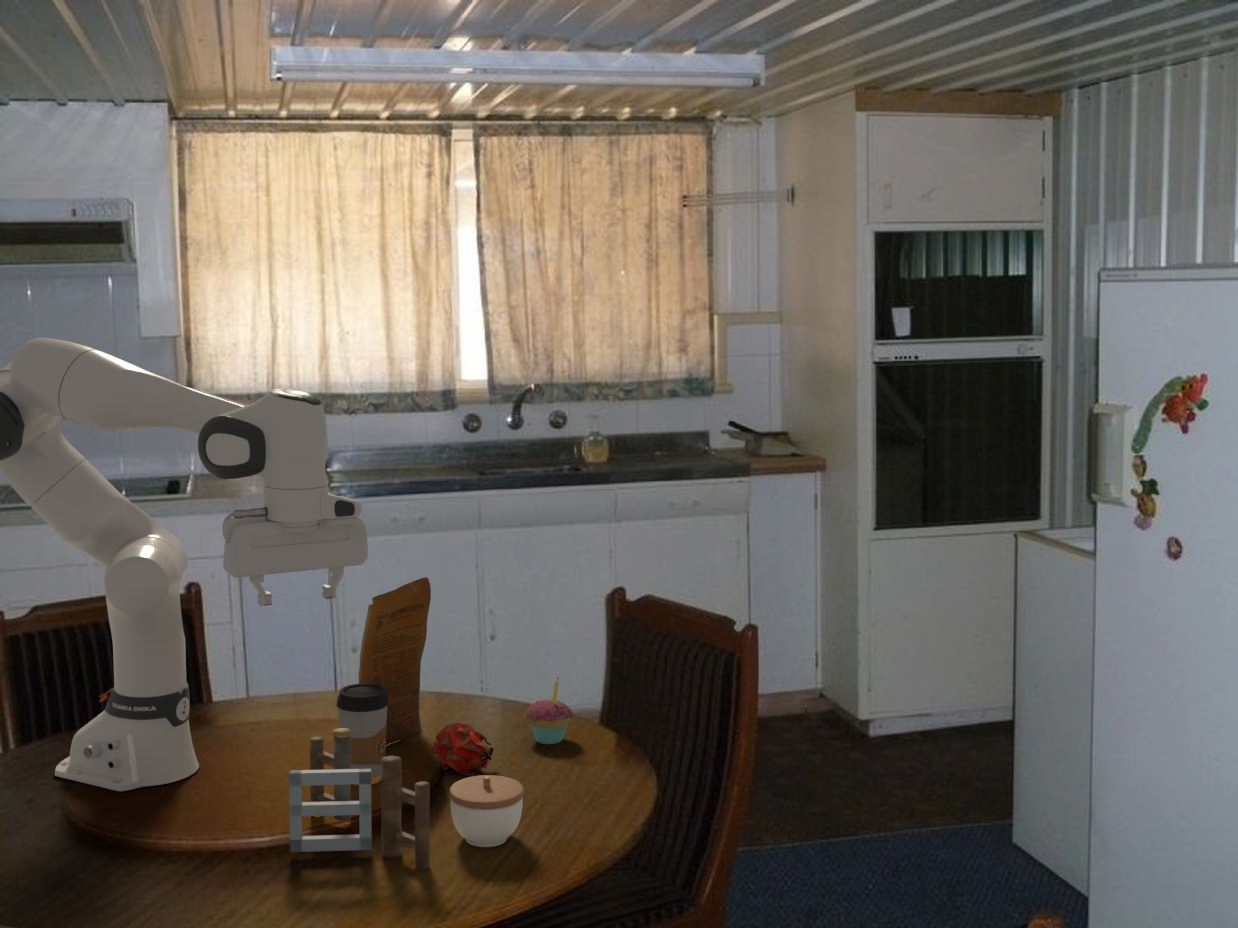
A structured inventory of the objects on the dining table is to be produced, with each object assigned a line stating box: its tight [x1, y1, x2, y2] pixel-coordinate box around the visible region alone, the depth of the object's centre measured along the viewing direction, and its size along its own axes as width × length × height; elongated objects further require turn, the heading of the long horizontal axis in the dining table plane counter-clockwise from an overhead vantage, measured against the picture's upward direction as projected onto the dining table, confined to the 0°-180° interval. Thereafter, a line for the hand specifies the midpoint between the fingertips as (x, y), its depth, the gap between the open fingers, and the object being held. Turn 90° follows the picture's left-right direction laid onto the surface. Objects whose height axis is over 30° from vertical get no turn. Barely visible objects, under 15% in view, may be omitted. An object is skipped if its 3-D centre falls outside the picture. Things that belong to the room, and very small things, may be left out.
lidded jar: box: [449, 774, 525, 848], centre depth 198 cm, size 11×11×9 cm
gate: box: [288, 768, 373, 853], centre depth 191 cm, size 11×1×12 cm, turn 97°
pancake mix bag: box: [358, 576, 432, 745], centre depth 238 cm, size 7×19×28 cm, turn 148°
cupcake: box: [523, 676, 574, 745], centre depth 240 cm, size 9×8×12 cm
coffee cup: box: [336, 683, 389, 779], centre depth 220 cm, size 8×8×15 cm
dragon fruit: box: [430, 721, 494, 777], centre depth 225 cm, size 8×8×12 cm
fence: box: [309, 727, 431, 871], centre depth 196 cm, size 27×5×15 cm, turn 52°
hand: (297, 601), depth 193 cm, fingers open, 8 cm apart
